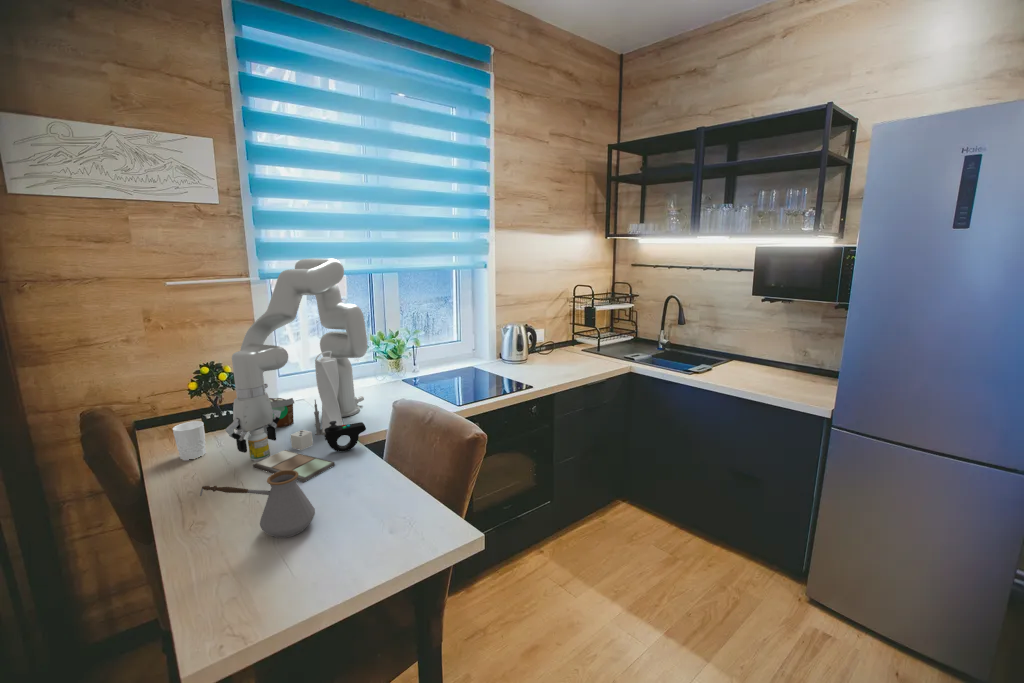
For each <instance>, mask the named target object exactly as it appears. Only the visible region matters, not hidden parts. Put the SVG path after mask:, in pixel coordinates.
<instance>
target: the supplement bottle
mask: <svg viewBox="0 0 1024 683" xmlns="http://www.w3.org/2000/svg"><path fill="white" fill-rule="evenodd" d="M264 427H265V426H263V427H260V428H258V429H255V430H252V431H249V432H248V433H249V435H248V436H247V444H248V451H249V457H250V460H251V461H255V462H259V461H262V460H264V459H266V458H268V457H270V454H271V452H270V446H269V445H270V444H269V439H268V437H267V432H265V428H264Z"/></svg>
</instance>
